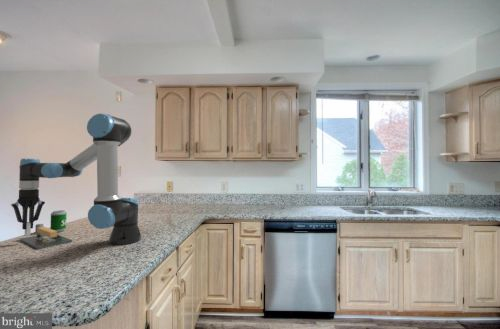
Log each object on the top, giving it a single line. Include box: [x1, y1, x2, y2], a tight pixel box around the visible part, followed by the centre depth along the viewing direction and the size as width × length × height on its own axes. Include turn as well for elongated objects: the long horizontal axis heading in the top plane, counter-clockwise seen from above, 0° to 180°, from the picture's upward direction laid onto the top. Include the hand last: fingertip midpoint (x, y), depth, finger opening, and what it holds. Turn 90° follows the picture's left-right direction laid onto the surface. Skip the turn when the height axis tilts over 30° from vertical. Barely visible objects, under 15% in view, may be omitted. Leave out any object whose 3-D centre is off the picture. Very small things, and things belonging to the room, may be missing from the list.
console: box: [19, 233, 73, 250], centre depth 127 cm, size 24×14×3 cm, turn 58°
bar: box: [34, 223, 58, 238], centre depth 127 cm, size 20×3×4 cm, turn 58°
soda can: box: [49, 210, 68, 233], centre depth 147 cm, size 8×8×12 cm
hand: (27, 235), depth 123 cm, fingers closed
